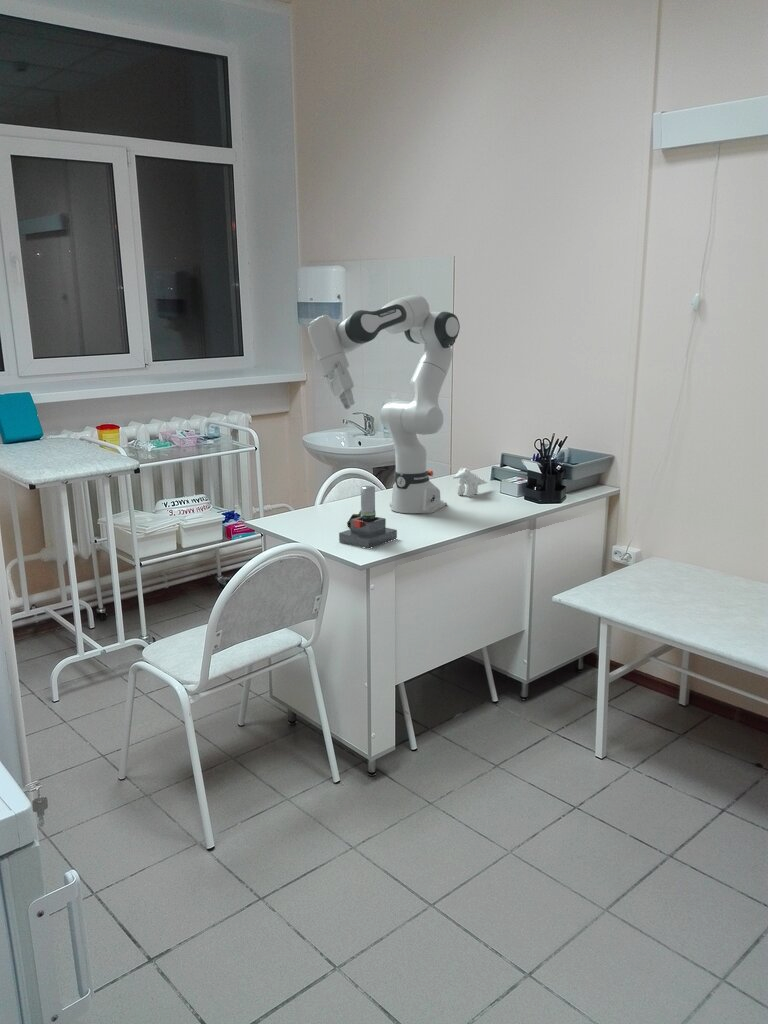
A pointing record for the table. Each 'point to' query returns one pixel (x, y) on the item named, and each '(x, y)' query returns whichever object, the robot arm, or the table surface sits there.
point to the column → (368, 503)
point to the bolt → (353, 518)
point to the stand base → (367, 533)
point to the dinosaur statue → (468, 482)
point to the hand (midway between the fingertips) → (350, 406)
